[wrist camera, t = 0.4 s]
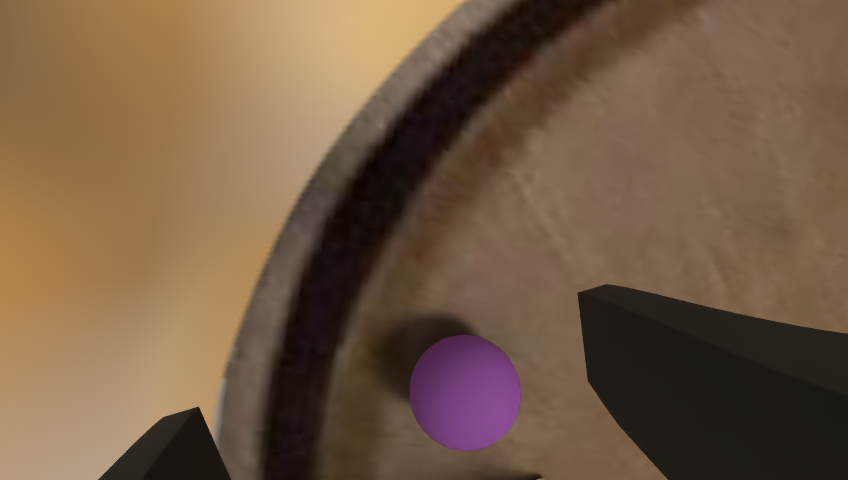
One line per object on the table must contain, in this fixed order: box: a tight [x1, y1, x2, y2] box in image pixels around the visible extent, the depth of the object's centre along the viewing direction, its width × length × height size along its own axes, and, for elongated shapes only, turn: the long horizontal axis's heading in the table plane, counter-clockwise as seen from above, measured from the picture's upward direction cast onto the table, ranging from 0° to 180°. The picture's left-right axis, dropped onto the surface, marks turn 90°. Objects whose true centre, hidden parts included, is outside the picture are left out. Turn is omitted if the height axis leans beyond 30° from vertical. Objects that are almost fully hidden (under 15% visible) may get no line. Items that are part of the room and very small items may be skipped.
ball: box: [409, 335, 521, 451], centre depth 18 cm, size 4×4×4 cm
